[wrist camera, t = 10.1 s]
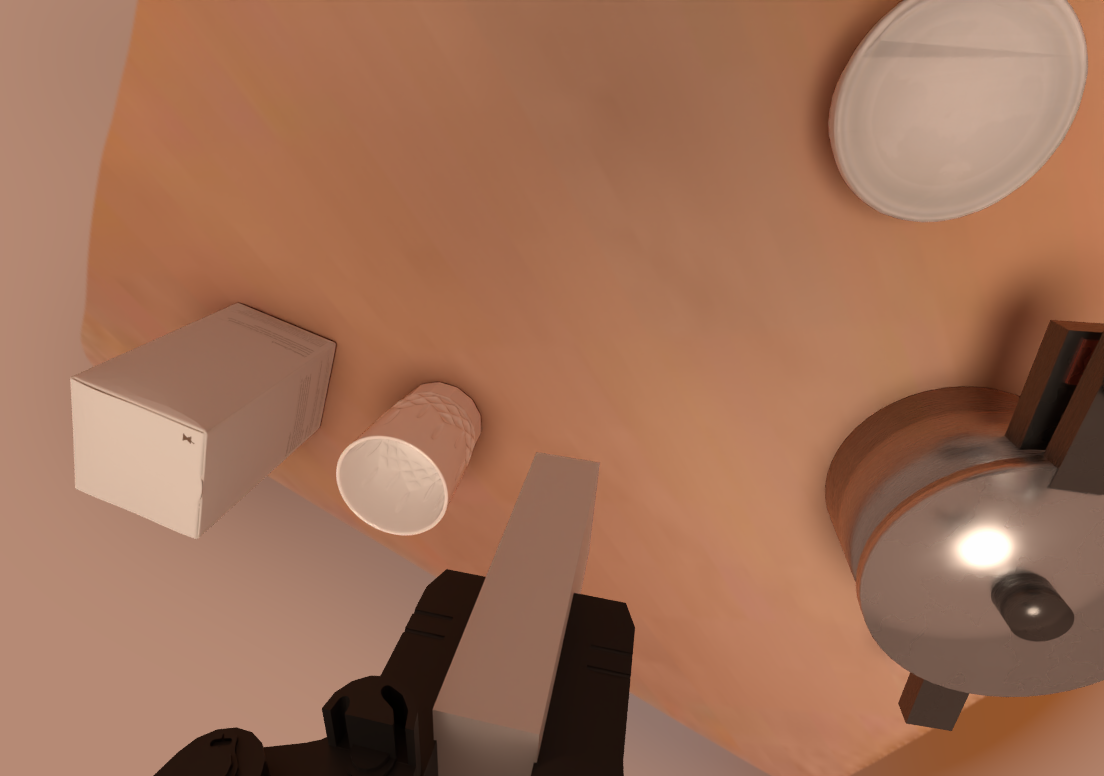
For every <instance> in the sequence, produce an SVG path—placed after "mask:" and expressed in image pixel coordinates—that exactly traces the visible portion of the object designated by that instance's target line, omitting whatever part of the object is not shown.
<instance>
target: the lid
mask: <svg viewBox="0 0 1104 776" xmlns="http://www.w3.org/2000/svg"><path fill="white" fill-rule="evenodd" d="M856 591H857V598H858V602H859V605H860V609H861V611H862V614H863V617H864V619H865V622H866V624H867V626H868V628H869V631H870V633H871V635H872V637H873V638H874V639H875V641H876V642H877V643H878V645H879V646H880V648H881V649H882V650H883V651H884V652H885V653H886V654H887V655H888V656H889V657H890V658H891V659H892V660H894V661H895V662H896V663H898V664H899V665H900V666H902V667H903V668H904V669H906V670H908V671H909V672H911V673H913V674H914V675H916V676H918V677H920V678H922V679H925V680H927V681H929V682H931V683H934V684H937V685H940V686H943V687H946V688H949V689H952V690H957V691H961V692H966V693H971V694H978V695H985V696H1000V697H1026V696H1038V695H1046V694H1053V693H1059V692H1064V691H1070V690H1073V689H1077V688H1081V687H1085V686H1088V685H1091V684H1094V683H1097V682H1100V681H1103V680H1104V331H1103V333H1102V335H1101V337H1100V339H1099V341H1098V344H1097V346H1096V348H1095V350H1094V352H1093V354H1092V356H1091V358H1090V360H1089V362H1088V364H1087V366H1086V368H1085V370H1084V372H1083V374H1082V376H1081V379H1080V381H1079V383H1078V385H1077V387H1076V389H1075V391H1074V393H1073V395H1072V397H1071V399H1070V401H1069V403H1068V405H1067V407H1066V409H1065V411H1064V414H1063V416H1062V418H1061V420H1060V422H1059V424H1058V426H1057V428H1056V430H1055V432H1054V434H1053V436H1052V438H1051V440H1050V442H1049V444H1048V446H1047V448H1046V451H1045V453H1044V455H1043V456H1039V457H1020V458H1011V459H1003V460H998V461H993V462H988V463H984V464H979V465H976V466H973V467H969V468H966V469H963V470H960V471H957V472H955V473H952V474H950V475H947V476H945V477H943V478H940V479H938V480H936V481H934V482H932V483H930V484H929V485H927V486H925V487H923V488H921V489H920V490H918V491H916V492H915V493H914V494H912V495H911V496H909V497H908V498H906V499H905V500H904V501H902V502H901V503H900V504H899V505H897V506H896V507H895V508H894V509H893V510H892V511H891V512H890V513H888V514H887V516H886V517H885V518H884V519H883V520H882V521H881V522H880V524H879V525H878V526H877V527H876V528H875V530H874V531H873V533H872V534H871V536H870V537H869V539H868V540H867V542H866V545H865V547H864V549H863V551H862V553H861V556H860V559H859V563H858V567H857V573H856Z"/></svg>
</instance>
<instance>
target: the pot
mask: <svg viewBox="0 0 1104 776" xmlns="http://www.w3.org/2000/svg"><path fill="white" fill-rule="evenodd" d="M1103 331H1104V324H1101V323H1086V322H1072V321H1057V320H1050V323H1049V325H1048V328H1047V330H1046V333H1045V335H1044V338H1043V340H1042V343H1041V345H1040V348H1039V350H1038V353H1037V356H1036V358H1035V361H1034V363H1033V366H1032V368H1031V371H1030V373H1029V376H1028V378H1027V381H1026V383H1025V386H1024V388H1023V391H1022V393H1021V396H1020V397H1019V396H1017V395H1014V394H1011V393H1008V392H1004V391H1000V390H996V389H989V388H982V387H951V388H942V389H936V390H931V391H926V392H923V393H919V394H916V395H912V396H909V397H907V398H904V399H902V400H899V401H897V402H894V403H893V404H891V405H889V406H887V407H885V408H883V409H881V410H879V411H878V412H877V413H875V414H874V415H872V416H871V417H869V418H868V419H866V420H865V421H864V422H863V423H862V424H860V425H859V426H858V427H857V428H856V429H855V430H854V431H853V432H852V433H851V434H850V435H849V436H848V437H847V438H846V439H845V441H844V442H843V444H842V445H841V447H840V448H839V449H838V451H837V453H836V455H835V457H834V458H833V460H832V462H831V465H830V468H829V471H828V474H827V480H826V485H825V498H826V505H827V510H828V512H829V515H830V518H831V521H832V523H833V526H834V529H835V531H836V534H837V536H838V539H839V541H840V544H841V546H842V549H843V551H844V554H845V557H846V559H847V562H848V564H849V567H850V569H851V572H852V574H853V577H854V580H855V582H856V573H857V567H858V563H859V559H860V556H861V553H862V551H863V549H864V547H865V545H866V542H867V540H868V539H869V537H870V536H871V534H872V533H873V531H874V530H875V528H876V527H877V526H878V525H879V524H880V522H881V521H882V520H883V519H884V518H885V517H886V516H887V514H888V513H890V512H891V511H892V510H893V509H894V508H895V507H896V506H897V505H899V504H900V503H901V502H902V501H904V500H905V499H906V498H908V497H909V496H911V495H912V494H914V493H915V492H916V491H918V490H920V489H921V488H923V487H925V486H927V485H929V484H930V483H932V482H934V481H936V480H938V479H940V478H943V477H945V476H947V475H950V474H952V473H955V472H957V471H960V470H963V469H966V468H969V467H973V466H976V465H979V464H984V463H988V462H993V461H998V460H1003V459H1011V458H1020V457H1039V456H1043V455H1044V453H1045V451H1046V448H1047V446H1048V444H1049V442H1050V440H1051V438H1052V436H1053V434H1054V432H1055V430H1056V428H1057V426H1058V424H1059V422H1060V420H1061V418H1062V416H1063V414H1064V411H1065V409H1066V407H1067V405H1068V403H1069V401H1070V399H1071V397H1072V395H1073V393H1074V391H1075V389H1076V387H1077V385H1078V383H1079V381H1080V379H1081V376H1082V374H1083V372H1084V370H1085V368H1086V366H1087V364H1088V362H1089V360H1090V358H1091V356H1092V354H1093V352H1094V350H1095V348H1096V346H1097V344H1098V341H1099V339H1100V337H1101V335H1102V333H1103ZM968 695H969V693H966V692H961V691H957V690H952V689H949V688H946V687H943V686H940V685H937V684H934V683H931V682H929V681H927V680H925V679H922V678H920V677H918V676H916V675H914V674H913V673H911V672H910V675H909V677H908V680H907V683H906V685H905V688H904V690H903V693H902V695H901V698H900V700H899V703H898V704H899V707H900V709H901V712H902V714H903V717H904V720H905V722H906V723H907V724H913V725H919V726H925V727H931V728H937V729H943V730H949V731H952V729H953V727H954V725H955V723H956V721H957V719H958V717H959V714H960V712H961V710H962V708H963V706H964V704H965V702H966V700H967V697H968Z"/></svg>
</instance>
